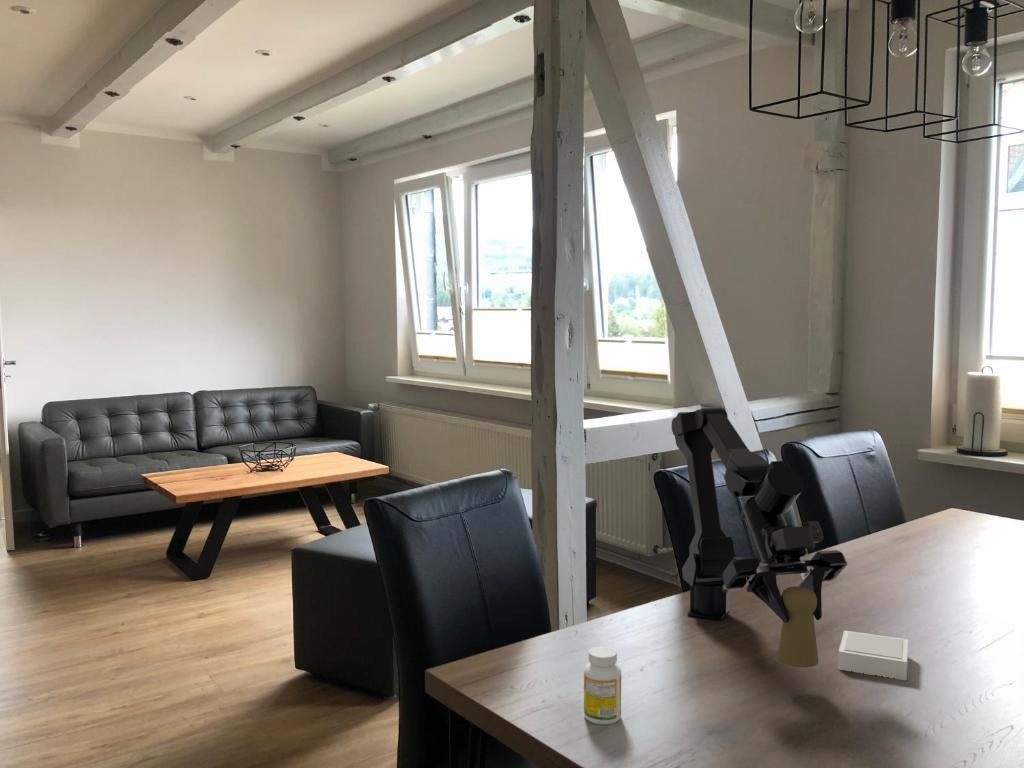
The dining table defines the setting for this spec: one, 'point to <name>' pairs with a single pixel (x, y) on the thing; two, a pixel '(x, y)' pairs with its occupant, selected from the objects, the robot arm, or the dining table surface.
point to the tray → (873, 655)
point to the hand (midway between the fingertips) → (803, 620)
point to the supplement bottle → (602, 687)
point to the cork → (798, 629)
